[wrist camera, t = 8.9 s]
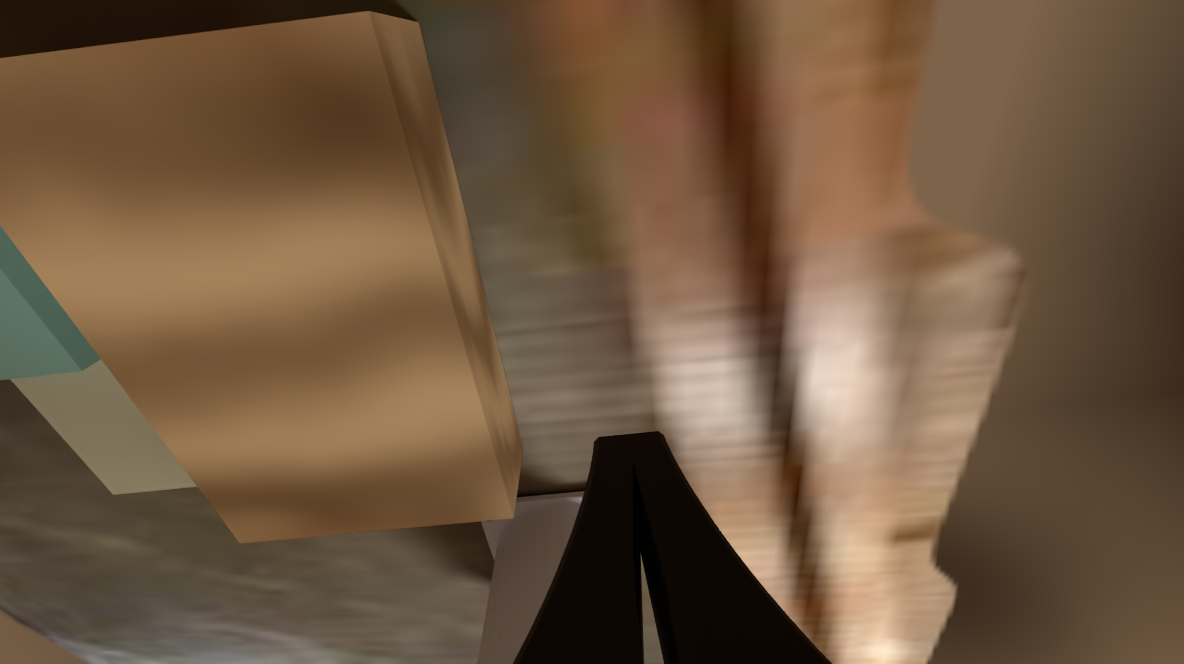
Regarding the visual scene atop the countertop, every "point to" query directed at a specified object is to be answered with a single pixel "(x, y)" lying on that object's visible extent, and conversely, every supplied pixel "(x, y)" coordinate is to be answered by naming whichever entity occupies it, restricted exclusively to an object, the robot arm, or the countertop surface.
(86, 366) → the sage green box
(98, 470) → the mat
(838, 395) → the countertop surface
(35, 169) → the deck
